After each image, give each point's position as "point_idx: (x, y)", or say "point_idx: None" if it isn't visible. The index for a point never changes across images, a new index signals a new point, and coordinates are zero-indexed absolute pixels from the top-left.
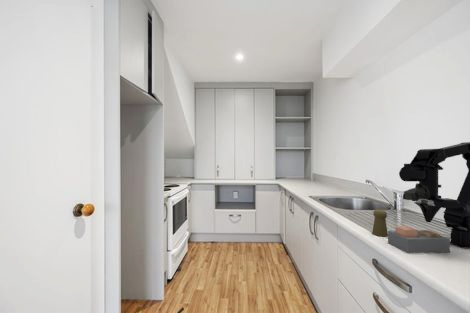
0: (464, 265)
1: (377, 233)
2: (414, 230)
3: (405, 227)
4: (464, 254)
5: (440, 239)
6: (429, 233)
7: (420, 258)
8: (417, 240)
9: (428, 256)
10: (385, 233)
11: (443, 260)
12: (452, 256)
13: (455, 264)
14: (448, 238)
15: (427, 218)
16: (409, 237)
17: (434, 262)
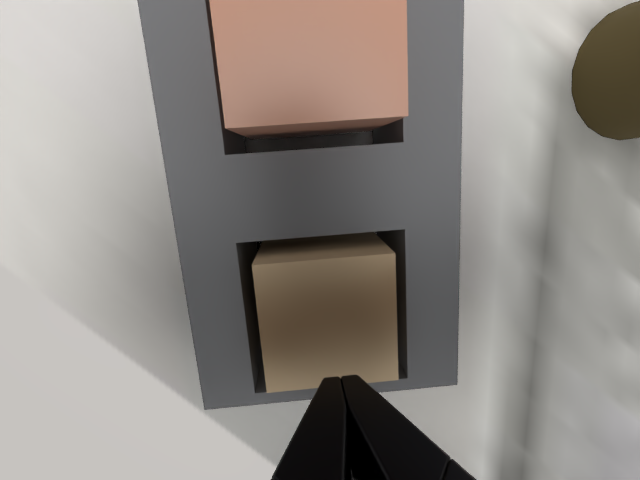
0: (8, 263)
1: (624, 11)
2: (222, 83)
3: (335, 27)
4: (207, 410)
5: (192, 322)
6: (278, 298)
7: (82, 32)
8: (154, 68)
9: (135, 133)
10: (599, 84)
11: (73, 188)
12: (160, 309)
13: (13, 216)
14: (215, 406)
15: (318, 406)
16: (203, 10)
17: (18, 87)
